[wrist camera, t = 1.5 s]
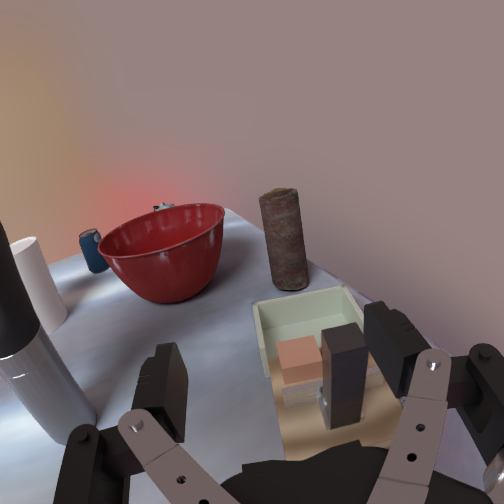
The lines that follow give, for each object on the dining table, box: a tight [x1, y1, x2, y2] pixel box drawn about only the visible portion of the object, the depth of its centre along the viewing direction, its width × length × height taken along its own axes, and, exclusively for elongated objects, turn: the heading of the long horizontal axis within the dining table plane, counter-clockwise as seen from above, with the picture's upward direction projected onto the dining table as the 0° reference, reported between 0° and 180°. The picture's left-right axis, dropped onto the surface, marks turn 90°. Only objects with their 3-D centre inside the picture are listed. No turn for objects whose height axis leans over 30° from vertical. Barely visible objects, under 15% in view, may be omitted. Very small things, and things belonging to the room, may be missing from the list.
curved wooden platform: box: [267, 347, 403, 461], centre depth 36 cm, size 17×14×4 cm
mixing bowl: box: [98, 203, 225, 303], centre depth 70 cm, size 28×28×15 cm
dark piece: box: [282, 322, 384, 431], centre depth 30 cm, size 5×12×12 cm, turn 95°
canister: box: [10, 237, 68, 335], centre depth 62 cm, size 14×14×20 cm
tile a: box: [276, 335, 323, 385], centre depth 39 cm, size 5×5×3 cm
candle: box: [259, 188, 309, 290], centre depth 62 cm, size 8×7×20 cm
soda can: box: [79, 229, 109, 274], centre depth 88 cm, size 7×7×12 cm
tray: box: [252, 285, 364, 378], centre depth 48 cm, size 11×16×6 cm
